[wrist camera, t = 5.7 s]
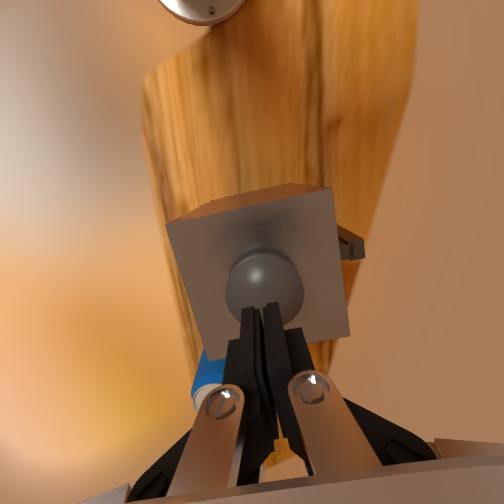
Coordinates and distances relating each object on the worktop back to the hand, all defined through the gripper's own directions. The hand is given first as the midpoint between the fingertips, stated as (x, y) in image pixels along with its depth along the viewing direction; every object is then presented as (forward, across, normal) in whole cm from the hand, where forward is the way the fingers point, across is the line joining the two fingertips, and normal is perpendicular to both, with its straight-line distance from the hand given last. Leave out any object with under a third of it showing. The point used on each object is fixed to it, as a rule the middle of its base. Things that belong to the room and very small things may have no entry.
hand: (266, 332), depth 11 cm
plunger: (+24, 0, +1) cm, 24 cm away
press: (+25, -1, +1) cm, 25 cm away
